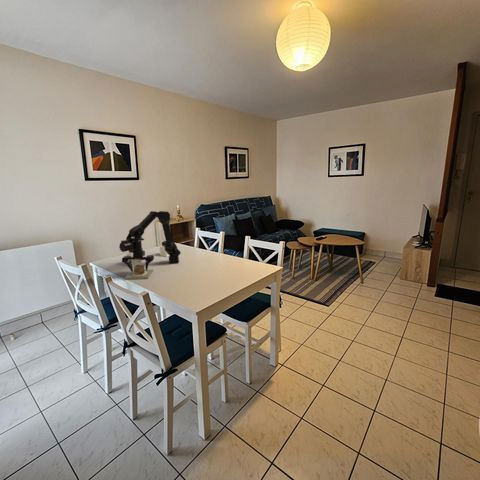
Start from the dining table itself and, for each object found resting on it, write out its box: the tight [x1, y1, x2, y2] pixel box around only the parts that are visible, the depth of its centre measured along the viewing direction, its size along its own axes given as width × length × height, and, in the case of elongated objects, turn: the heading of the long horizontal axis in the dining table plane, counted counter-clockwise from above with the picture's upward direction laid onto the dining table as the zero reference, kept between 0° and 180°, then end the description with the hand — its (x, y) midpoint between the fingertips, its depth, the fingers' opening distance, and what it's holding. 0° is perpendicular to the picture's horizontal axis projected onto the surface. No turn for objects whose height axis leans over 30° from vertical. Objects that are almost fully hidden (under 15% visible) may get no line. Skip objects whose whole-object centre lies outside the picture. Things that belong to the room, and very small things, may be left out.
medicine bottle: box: [159, 240, 169, 258], centre depth 212 cm, size 7×7×12 cm
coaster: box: [124, 269, 154, 281], centre depth 169 cm, size 14×14×1 cm
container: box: [125, 250, 143, 267], centre depth 191 cm, size 8×8×13 cm
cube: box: [133, 264, 146, 275], centre depth 169 cm, size 5×5×5 cm
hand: (139, 271), depth 169 cm, fingers open, 9 cm apart
